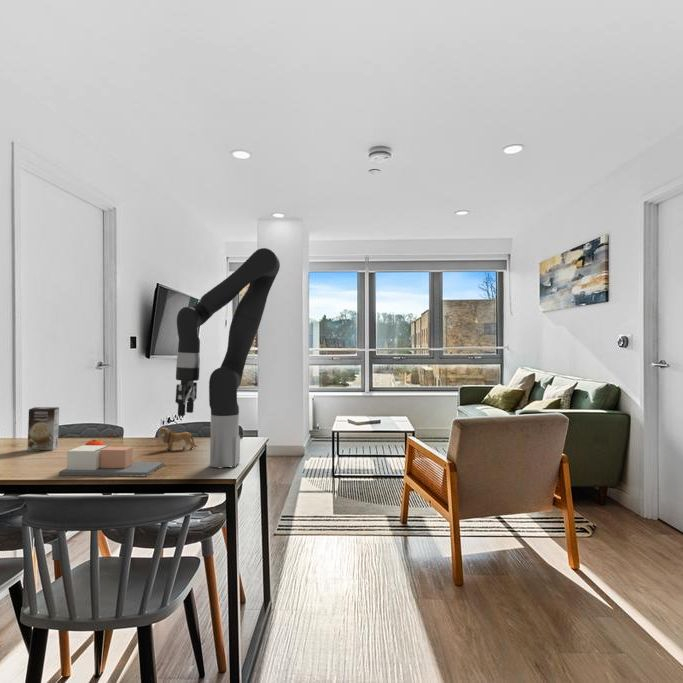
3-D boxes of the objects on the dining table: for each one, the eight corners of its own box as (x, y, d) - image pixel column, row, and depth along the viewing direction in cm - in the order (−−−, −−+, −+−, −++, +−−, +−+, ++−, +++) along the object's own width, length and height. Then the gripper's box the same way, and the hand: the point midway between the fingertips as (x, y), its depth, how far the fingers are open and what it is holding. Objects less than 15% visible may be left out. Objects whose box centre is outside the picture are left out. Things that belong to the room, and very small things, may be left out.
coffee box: (26, 451, 180) (27, 409, 181) (32, 448, 187) (33, 407, 187) (53, 450, 183) (54, 408, 183) (58, 447, 189) (59, 406, 189)
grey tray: (163, 465, 160) (164, 444, 160) (146, 476, 146) (147, 453, 146) (83, 464, 160) (84, 443, 161) (58, 475, 146) (59, 452, 147)
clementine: (91, 456, 173) (91, 436, 174) (110, 456, 173) (110, 436, 174) (78, 461, 165) (79, 440, 166) (98, 461, 165) (99, 441, 166)
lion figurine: (158, 452, 181) (159, 428, 181) (156, 450, 186) (157, 426, 186) (198, 449, 188) (198, 426, 188) (195, 446, 193) (195, 424, 193)
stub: (132, 464, 156) (132, 447, 156) (125, 468, 151) (125, 450, 151) (107, 464, 156) (108, 446, 156) (99, 467, 151) (100, 449, 151)
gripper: (192, 367, 155) (189, 417, 154) (205, 366, 169) (202, 412, 169) (169, 366, 155) (166, 416, 154) (184, 365, 169) (181, 411, 169)
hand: (185, 414), depth 161 cm, fingers open, 8 cm apart
